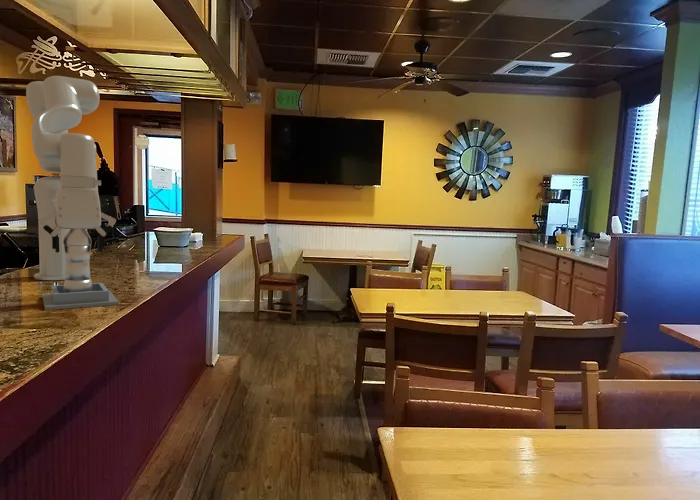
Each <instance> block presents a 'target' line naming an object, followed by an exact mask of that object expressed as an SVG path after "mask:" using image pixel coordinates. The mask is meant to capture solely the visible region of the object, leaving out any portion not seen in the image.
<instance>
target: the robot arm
mask: <svg viewBox="0 0 700 500" xmlns="http://www.w3.org/2000/svg"><path fill="white" fill-rule="evenodd" d="M25 96H26V103H27V107H28V109H29V112H30V115H31V117H32V120H33V123H32V125H31V130H30V131H31V132H30V133H31V134H30V135H31V140H32V141H31V142H32V149H33V153H34V155H35V157H36V159H38V164H39V167H40V169H41V170H42V171H44V172H47V173H51V174H52V173H53V174H60V176H44V177H41V178H38V179H37V180H36V181H35V183H34V187H33V191H34V192H33V193H34V197H35V202H36V208H37V219H38V247H39V249H38V251H39V252H38V253H39V255H38V256H39V272H37V273H34V274H33V278H34V279H35V280H40V281H65V280H66V279H65V277H66V257H65V250H64V244H63V240H64V237H65V235H66V234H67V233H68V231H69V230H70V229H85V230H96V231H97V233H98V235H97V251H98V252H102V253H103V249H105V247H106V241H105V240H106V239H105V238H106V236H107V235H108V233H110V231H112V230H113V227H114V225H115V224H116V223H117V219H116V218H115V217H112V216H110V215H108V214H105V213H104V212H102V210H101V200H100V196H99V187H100V186H102V180H101V179H100V180H98V171H97V169H98V168H97V145H96V143H95V140H94V138H93V136H91V135H88V134H83V133H73V132H69V130H70V129H74V128H75V127H77V126H78V125H79V124H80V123H81V121H82V118H83V115H84V116H85V115H90V114H92V113H93V112H95V111H96V110H97V109H98V107H99V105H100V101H101V100H100V98H101V97H100V91H99V89H98V86H97V85H96V84H95V83H94V82H93V81H91V80H88V79H82V78H77V77H68V76H64V75H63V76H62V75H52V76H49V77H46V78H45V79H44V80H36V81H31V82H29V83H28V84H27V86H26V91H25ZM98 186H99V187H98ZM102 219H103V220H106V221H108V223H107V226H105V227H104V228H102V227H101V226H102Z"/></svg>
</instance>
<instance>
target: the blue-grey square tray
mask: <svg viewBox="0 0 700 500" xmlns="http://www.w3.org/2000/svg"><path fill="white" fill-rule="evenodd" d="M42 301H43V302H42V303H43V306H44V310H45V311H51V310H52V311H53V310H66V309H67V310H68V309H69V310H70V309H80V307H82V308H93V307H104V306H105V307H106V306H107V307H108V306H118V305H120V303H119V300H118V299H117V297H116V296H115V295H114V294H113V292H112V291H111V290H110V289H108V288H107V287H106V286H105V284H104V283H103V282H96V283H95V282H94V283H93V282H92V291H88V292H72V293H65V292H64V284H60V285H59V284H56V285H51V293H42Z"/></svg>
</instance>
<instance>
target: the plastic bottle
mask: <svg viewBox="0 0 700 500" xmlns="http://www.w3.org/2000/svg"><path fill="white" fill-rule="evenodd" d="M92 242H93V241H92V238H91V236H90V234H89V233H88V231H86V229H70V230H69V231H68V233H67V234H66V235H65V237H64V240H63V244H64V250H65V257H66V277H65V279H66V280H64V284H63V285H64V292H65V293H72V292H88V291H92V283H93V281H92V279H91V270H90V268H91V267H90V261H91V259H90V258H91V249H92Z"/></svg>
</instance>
